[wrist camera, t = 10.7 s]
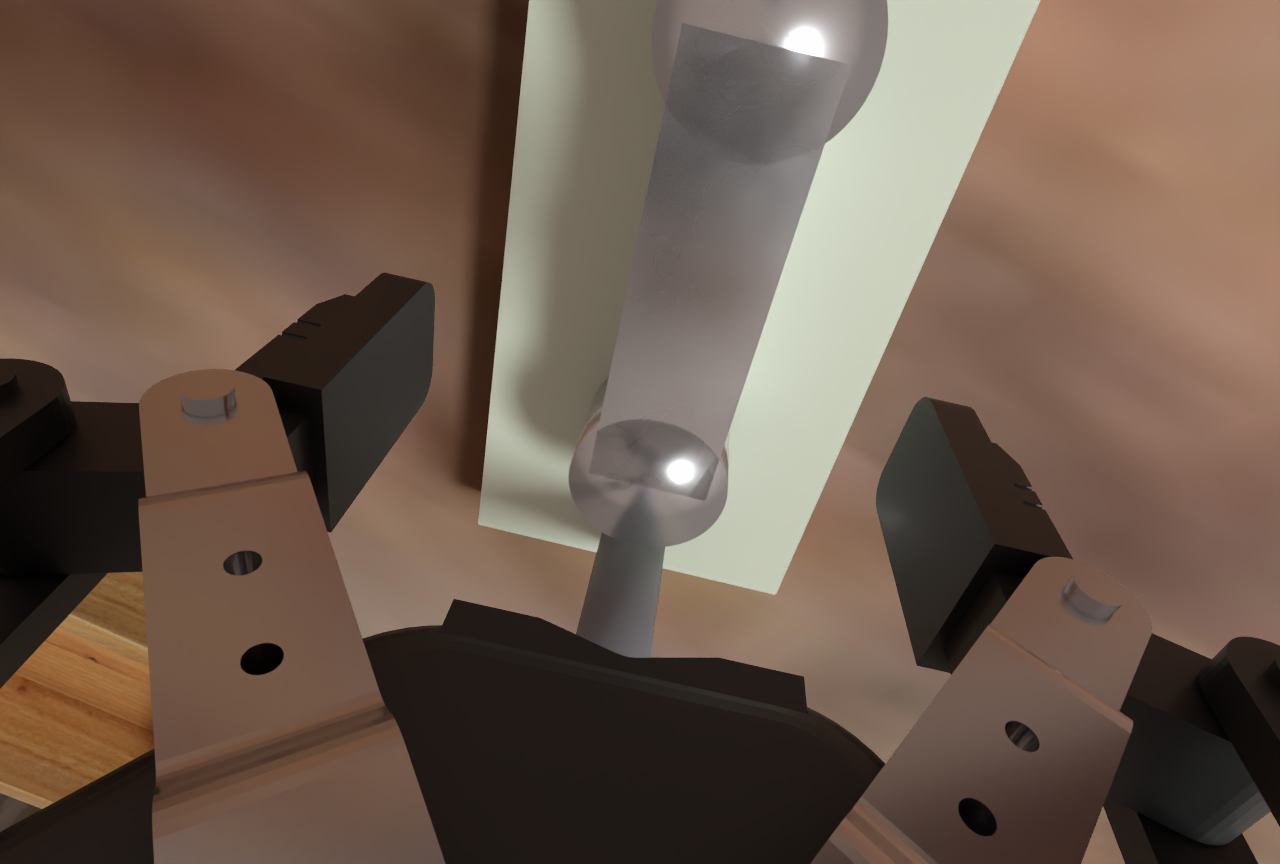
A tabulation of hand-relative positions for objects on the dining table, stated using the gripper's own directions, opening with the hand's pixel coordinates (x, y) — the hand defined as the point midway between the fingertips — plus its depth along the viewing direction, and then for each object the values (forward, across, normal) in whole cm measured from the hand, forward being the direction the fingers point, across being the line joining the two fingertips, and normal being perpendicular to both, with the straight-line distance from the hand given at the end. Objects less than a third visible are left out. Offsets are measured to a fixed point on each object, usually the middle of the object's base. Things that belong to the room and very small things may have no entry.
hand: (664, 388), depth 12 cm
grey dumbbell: (+7, 0, 0) cm, 7 cm away
